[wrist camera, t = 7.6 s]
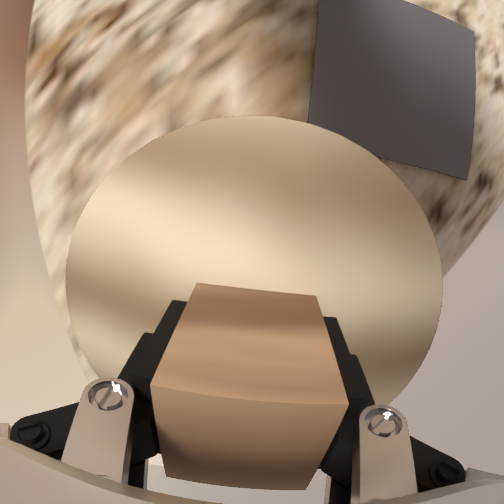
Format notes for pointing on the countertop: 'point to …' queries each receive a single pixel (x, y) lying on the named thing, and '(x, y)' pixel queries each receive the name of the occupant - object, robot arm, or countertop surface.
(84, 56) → the countertop surface
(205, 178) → the lid
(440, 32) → the mat
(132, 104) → the countertop surface
